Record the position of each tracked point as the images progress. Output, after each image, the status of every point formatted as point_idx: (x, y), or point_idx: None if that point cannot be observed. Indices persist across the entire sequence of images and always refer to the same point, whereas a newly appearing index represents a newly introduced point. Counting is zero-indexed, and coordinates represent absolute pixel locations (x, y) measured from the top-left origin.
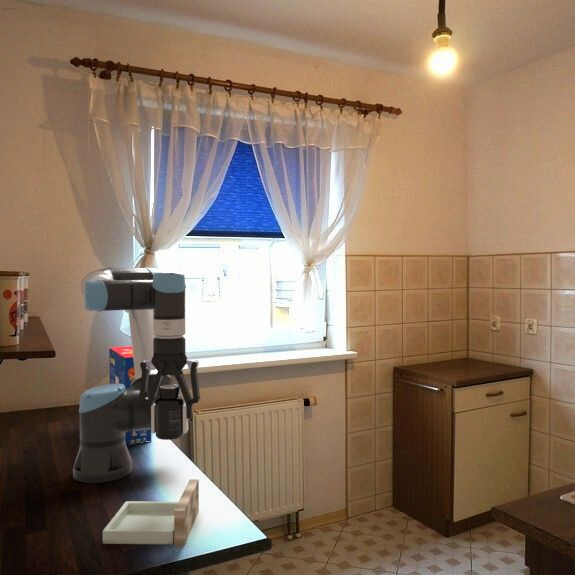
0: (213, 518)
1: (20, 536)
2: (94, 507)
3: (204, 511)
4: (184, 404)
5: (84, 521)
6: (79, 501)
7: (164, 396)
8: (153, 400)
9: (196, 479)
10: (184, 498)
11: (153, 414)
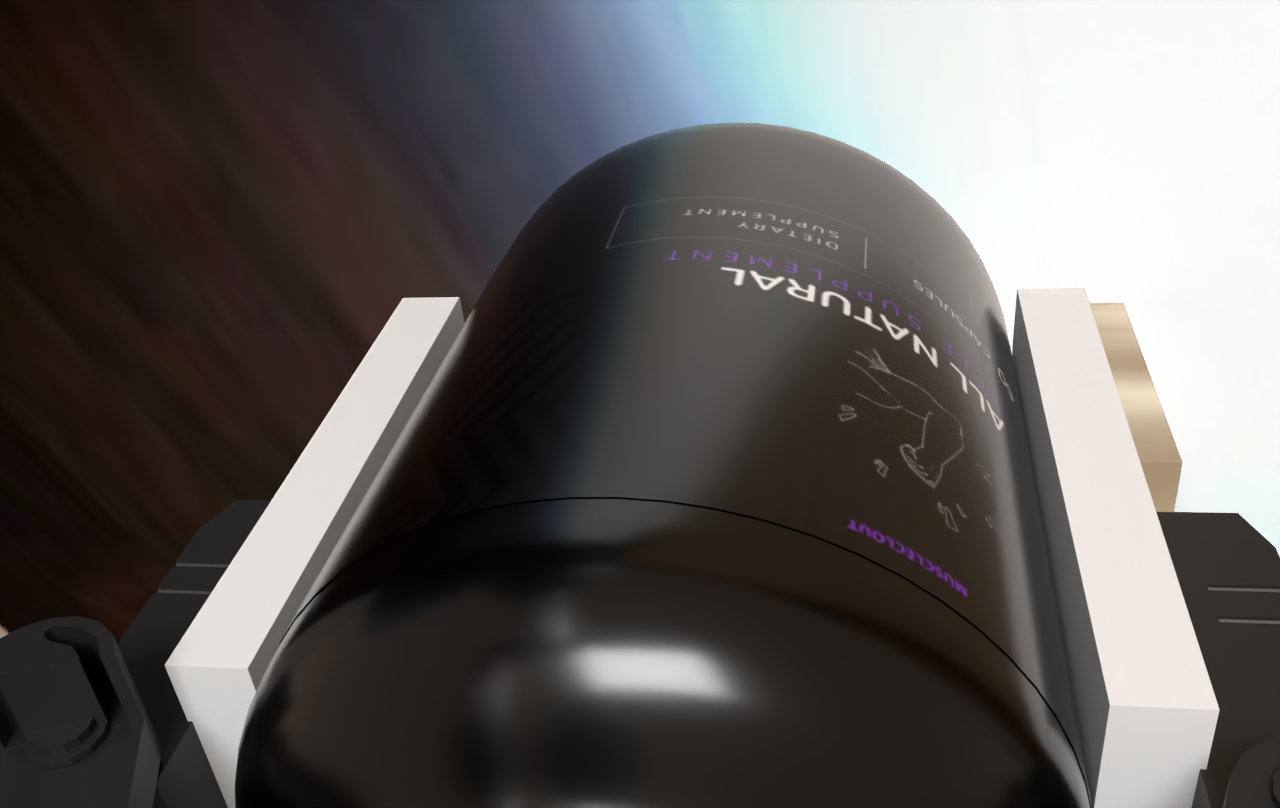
0: (1261, 437)
1: (63, 612)
2: (220, 262)
3: (1178, 323)
4: (1103, 786)
5: (294, 464)
6: (27, 157)
7: None
8: (138, 799)
9: (1158, 465)
10: None
11: None
